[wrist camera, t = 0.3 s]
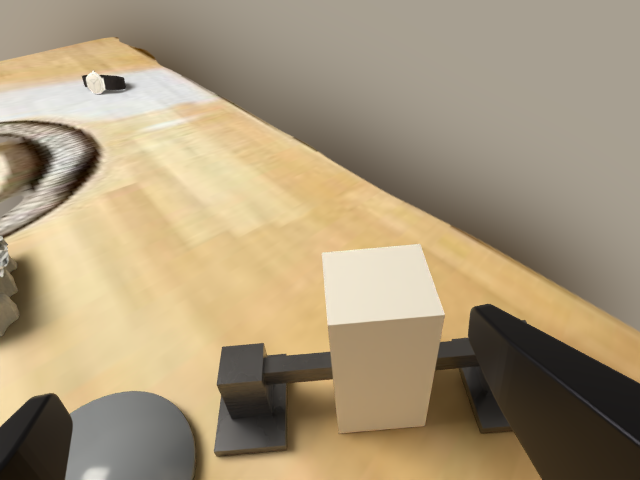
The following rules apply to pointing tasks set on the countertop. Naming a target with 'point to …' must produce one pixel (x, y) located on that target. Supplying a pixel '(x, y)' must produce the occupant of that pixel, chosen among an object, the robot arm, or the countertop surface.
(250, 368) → the black stand
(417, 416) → the cream link
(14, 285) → the egg carton
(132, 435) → the slate coaster
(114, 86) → the watch
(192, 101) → the countertop surface
